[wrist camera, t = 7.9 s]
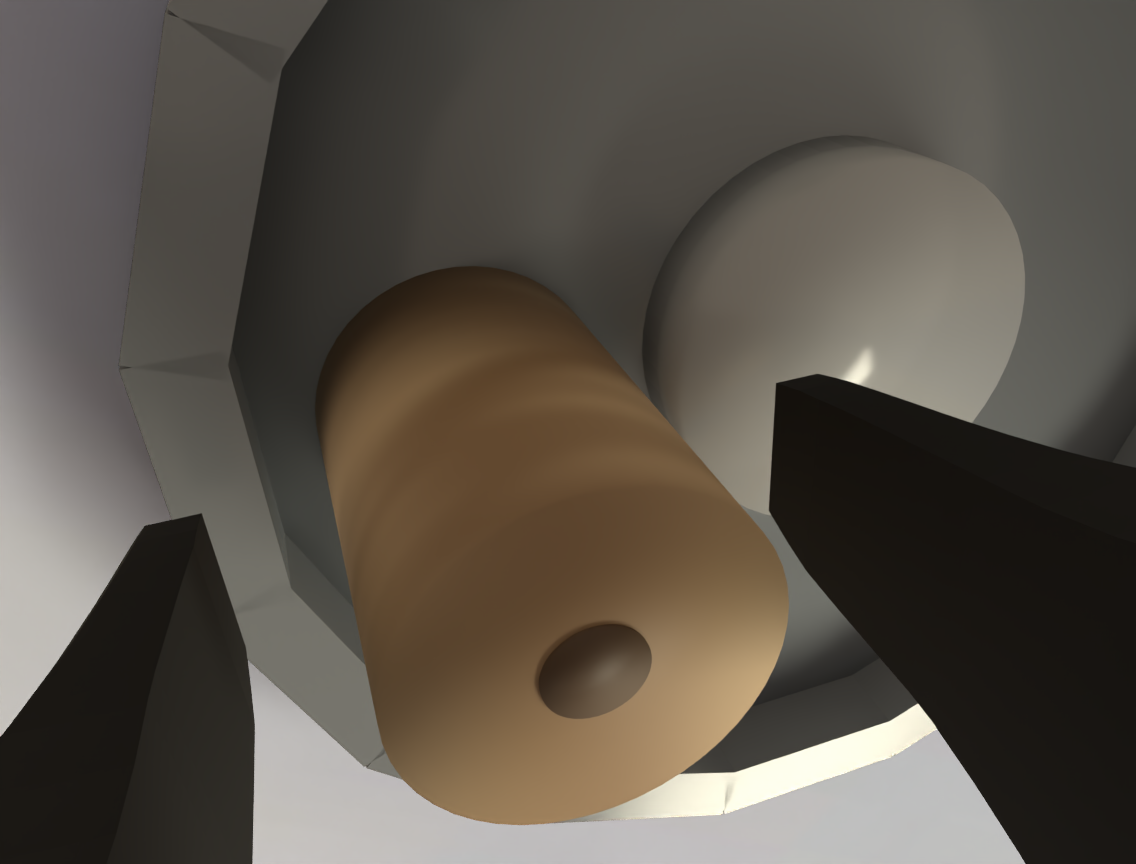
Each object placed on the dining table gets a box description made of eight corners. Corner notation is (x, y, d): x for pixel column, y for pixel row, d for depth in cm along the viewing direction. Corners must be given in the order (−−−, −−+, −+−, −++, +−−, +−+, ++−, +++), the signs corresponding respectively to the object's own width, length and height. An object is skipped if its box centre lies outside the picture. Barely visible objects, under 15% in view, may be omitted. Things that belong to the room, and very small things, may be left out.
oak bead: (581, 235, 14) (793, 433, 9) (609, 479, 16) (790, 745, 11) (278, 307, 13) (323, 574, 8) (355, 555, 15) (428, 880, 10)
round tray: (1473, -490, 13) (1660, -544, 12) (1124, 601, 24) (1195, 656, 22) (-145, -523, 9) (-234, -624, 7) (313, 859, 19) (323, 956, 17)
